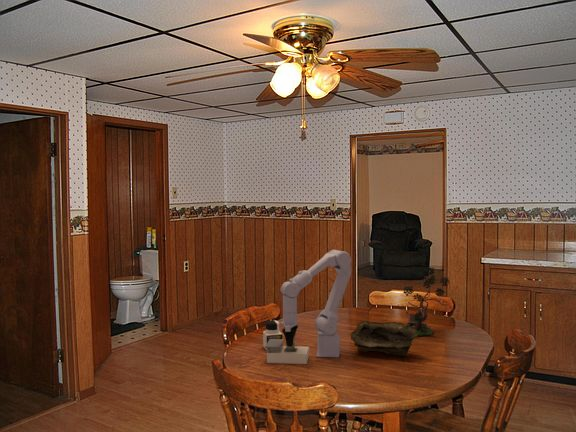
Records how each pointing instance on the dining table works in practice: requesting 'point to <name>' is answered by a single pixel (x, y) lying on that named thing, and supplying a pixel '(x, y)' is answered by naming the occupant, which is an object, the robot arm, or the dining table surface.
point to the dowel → (291, 349)
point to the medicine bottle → (271, 332)
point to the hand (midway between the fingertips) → (290, 344)
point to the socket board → (285, 353)
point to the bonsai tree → (419, 318)
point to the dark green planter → (384, 337)
